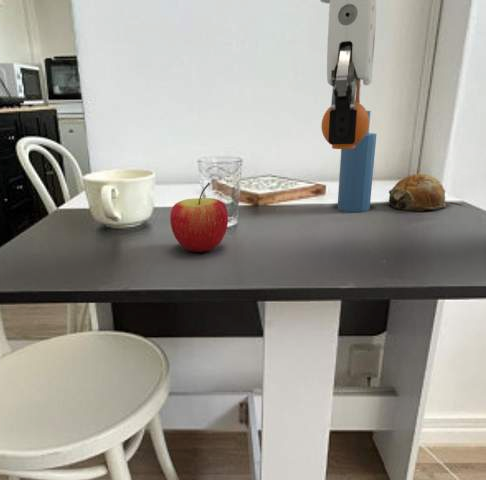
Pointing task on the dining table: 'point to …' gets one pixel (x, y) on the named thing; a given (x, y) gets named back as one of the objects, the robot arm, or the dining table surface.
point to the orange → (361, 126)
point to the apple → (199, 223)
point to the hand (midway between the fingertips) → (344, 140)
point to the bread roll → (418, 193)
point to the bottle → (357, 175)
